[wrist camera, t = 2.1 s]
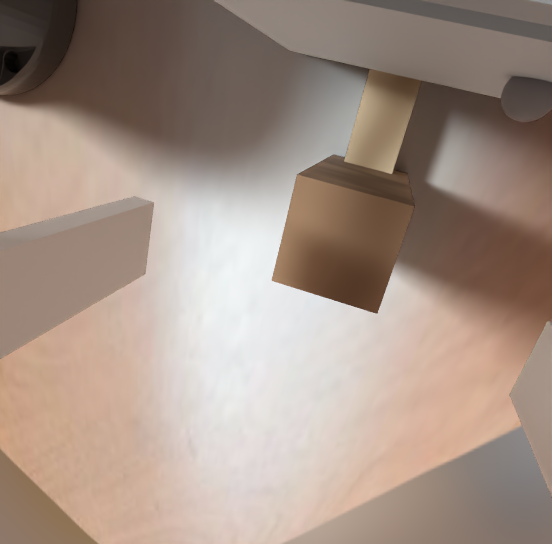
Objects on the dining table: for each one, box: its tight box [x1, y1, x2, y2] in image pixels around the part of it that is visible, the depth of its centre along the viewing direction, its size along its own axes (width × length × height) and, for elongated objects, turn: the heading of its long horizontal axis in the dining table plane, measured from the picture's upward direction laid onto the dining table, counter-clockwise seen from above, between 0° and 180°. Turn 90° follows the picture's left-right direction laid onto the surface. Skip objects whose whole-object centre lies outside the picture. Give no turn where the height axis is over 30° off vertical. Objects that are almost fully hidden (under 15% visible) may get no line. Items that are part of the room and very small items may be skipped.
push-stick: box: [272, 69, 422, 314], centre depth 22 cm, size 5×20×12 cm, turn 167°
